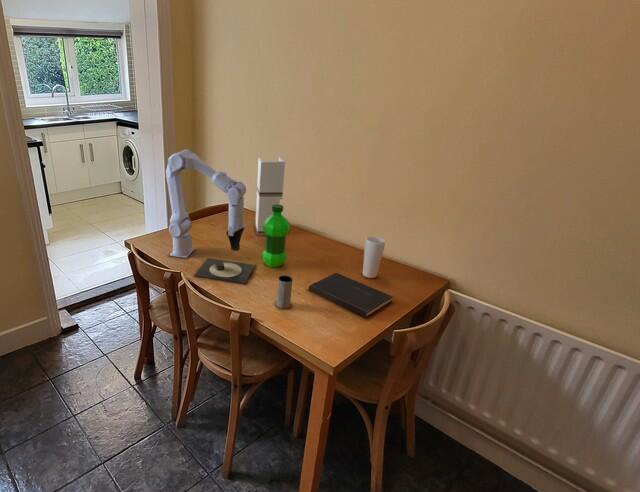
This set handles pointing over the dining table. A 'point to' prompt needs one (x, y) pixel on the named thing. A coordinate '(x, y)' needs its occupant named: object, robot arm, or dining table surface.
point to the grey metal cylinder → (284, 291)
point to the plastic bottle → (275, 237)
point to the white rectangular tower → (268, 190)
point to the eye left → (219, 266)
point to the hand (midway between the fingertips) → (235, 246)
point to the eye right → (236, 248)
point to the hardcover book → (351, 294)
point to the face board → (226, 271)
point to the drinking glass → (372, 256)
